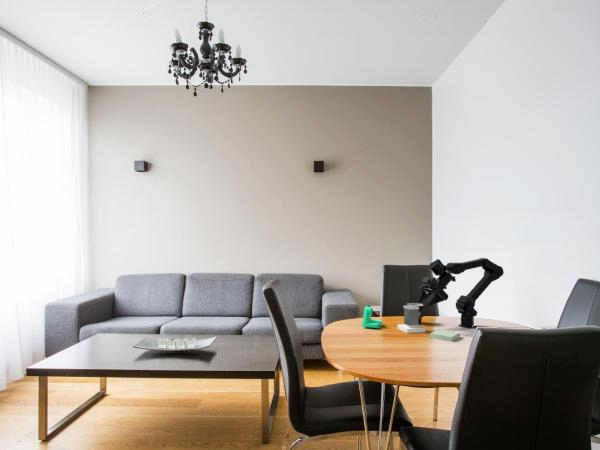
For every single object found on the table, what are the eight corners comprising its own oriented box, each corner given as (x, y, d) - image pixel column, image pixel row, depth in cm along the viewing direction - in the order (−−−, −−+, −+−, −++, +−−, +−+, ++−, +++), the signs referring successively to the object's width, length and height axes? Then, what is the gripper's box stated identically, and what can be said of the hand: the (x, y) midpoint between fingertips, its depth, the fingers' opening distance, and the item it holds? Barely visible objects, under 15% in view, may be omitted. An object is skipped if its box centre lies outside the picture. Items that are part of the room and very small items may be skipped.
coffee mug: (406, 324, 210) (406, 305, 210) (407, 320, 219) (407, 302, 219) (429, 325, 207) (429, 306, 207) (429, 322, 215) (428, 303, 215)
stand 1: (415, 327, 203) (415, 323, 203) (425, 332, 193) (425, 327, 194) (397, 328, 201) (397, 324, 201) (407, 333, 191) (407, 329, 191)
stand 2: (439, 333, 190) (439, 329, 191) (459, 337, 184) (459, 332, 184) (430, 337, 183) (430, 333, 183) (451, 341, 176) (451, 337, 176)
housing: (413, 324, 201) (413, 305, 201) (419, 327, 195) (418, 307, 195) (403, 325, 199) (403, 305, 199) (409, 327, 194) (408, 307, 194)
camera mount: (377, 330, 198) (377, 309, 198) (362, 328, 201) (362, 308, 202) (382, 325, 209) (382, 305, 209) (368, 323, 212) (368, 304, 212)
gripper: (422, 269, 210) (403, 290, 207) (442, 272, 192) (422, 296, 189) (435, 283, 211) (417, 305, 209) (457, 288, 193) (437, 312, 190)
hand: (422, 304), depth 199 cm, fingers open, 9 cm apart
